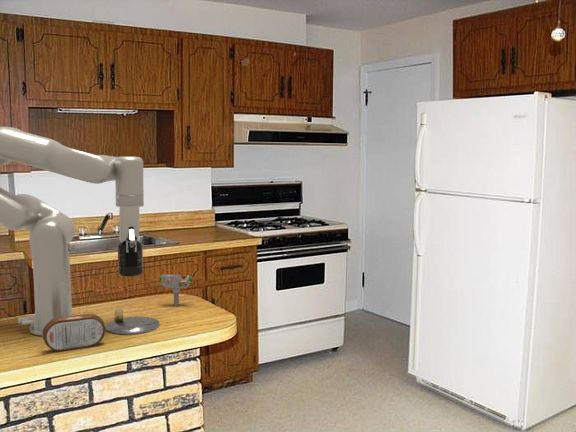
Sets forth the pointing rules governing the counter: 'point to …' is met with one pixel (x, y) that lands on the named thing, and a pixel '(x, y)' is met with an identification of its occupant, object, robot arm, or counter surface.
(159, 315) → the counter surface
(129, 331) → the plate
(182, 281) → the mechanical component
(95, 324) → the tin
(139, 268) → the supplement bottle
